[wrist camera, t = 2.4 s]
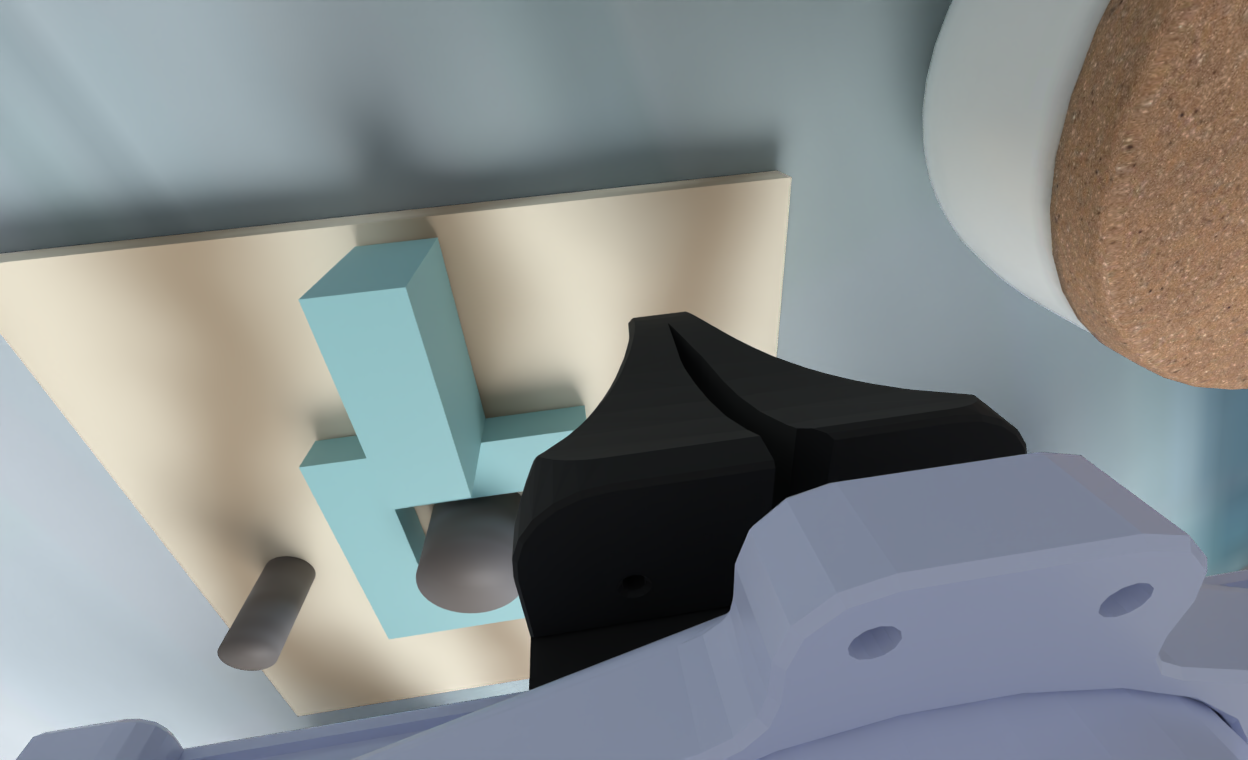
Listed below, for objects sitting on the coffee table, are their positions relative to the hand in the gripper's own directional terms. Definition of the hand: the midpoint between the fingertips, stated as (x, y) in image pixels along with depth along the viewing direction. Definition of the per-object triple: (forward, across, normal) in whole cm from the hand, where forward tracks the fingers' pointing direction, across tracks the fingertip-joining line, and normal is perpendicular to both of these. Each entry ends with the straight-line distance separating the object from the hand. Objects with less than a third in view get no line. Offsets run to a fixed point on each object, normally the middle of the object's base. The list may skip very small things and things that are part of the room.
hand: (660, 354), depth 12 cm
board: (+4, +6, +7) cm, 10 cm away
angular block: (+3, +6, +4) cm, 8 cm away
